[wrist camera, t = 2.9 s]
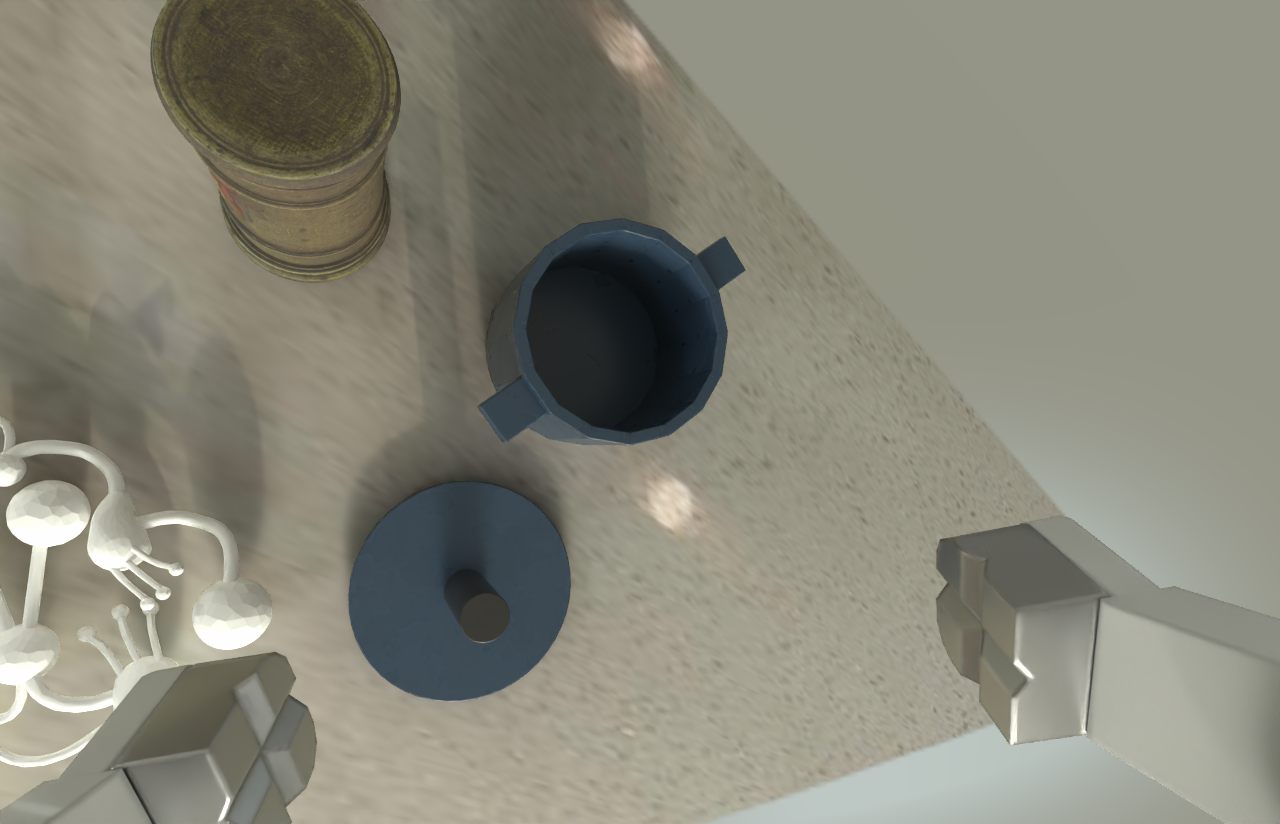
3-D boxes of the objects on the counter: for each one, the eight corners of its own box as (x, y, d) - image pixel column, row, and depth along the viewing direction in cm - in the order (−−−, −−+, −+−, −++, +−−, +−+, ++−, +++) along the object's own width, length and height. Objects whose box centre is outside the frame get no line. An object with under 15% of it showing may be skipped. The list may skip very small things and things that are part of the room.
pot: (410, 345, 45) (423, 323, 37) (628, 207, 51) (685, 157, 42) (524, 505, 48) (563, 519, 39) (722, 355, 53) (794, 337, 44)
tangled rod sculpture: (-234, 559, 35) (-317, 578, 31) (11, 347, 38) (-36, 341, 34) (105, 791, 39) (70, 834, 36) (305, 584, 42) (293, 603, 38)
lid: (300, 572, 43) (286, 602, 35) (488, 438, 47) (515, 437, 39) (436, 741, 45) (453, 806, 37) (604, 600, 49) (652, 630, 41)
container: (396, 153, 46) (419, -14, 29) (381, 295, 45) (396, 209, 28) (234, 118, 42) (153, -92, 26) (215, 271, 42) (120, 157, 25)
